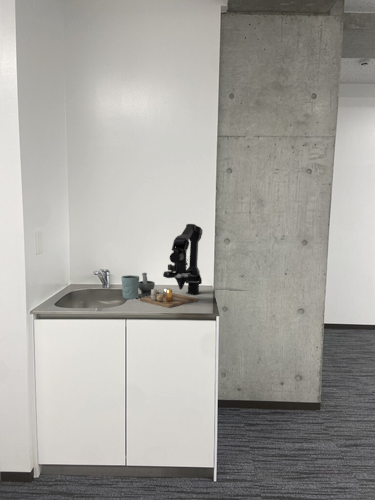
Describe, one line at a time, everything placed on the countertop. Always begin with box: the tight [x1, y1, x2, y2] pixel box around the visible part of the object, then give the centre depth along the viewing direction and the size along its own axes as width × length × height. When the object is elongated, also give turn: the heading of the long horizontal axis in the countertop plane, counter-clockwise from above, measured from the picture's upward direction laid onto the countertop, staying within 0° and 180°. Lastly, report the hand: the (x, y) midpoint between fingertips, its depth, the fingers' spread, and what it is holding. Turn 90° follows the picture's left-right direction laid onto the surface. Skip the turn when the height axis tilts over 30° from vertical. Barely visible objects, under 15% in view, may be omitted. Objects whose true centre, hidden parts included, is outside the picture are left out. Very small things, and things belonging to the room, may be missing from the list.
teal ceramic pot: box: [121, 274, 140, 300], centre depth 237 cm, size 10×10×12 cm
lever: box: [162, 287, 173, 302], centre depth 232 cm, size 20×4×6 cm, turn 9°
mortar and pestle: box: [138, 272, 156, 296], centre depth 247 cm, size 11×9×12 cm
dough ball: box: [157, 294, 163, 301], centre depth 224 cm, size 4×4×4 cm
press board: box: [139, 288, 198, 309], centre depth 230 cm, size 23×22×7 cm
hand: (180, 289), depth 226 cm, fingers closed
